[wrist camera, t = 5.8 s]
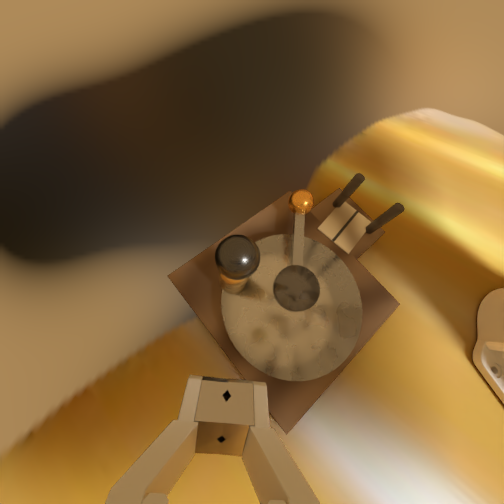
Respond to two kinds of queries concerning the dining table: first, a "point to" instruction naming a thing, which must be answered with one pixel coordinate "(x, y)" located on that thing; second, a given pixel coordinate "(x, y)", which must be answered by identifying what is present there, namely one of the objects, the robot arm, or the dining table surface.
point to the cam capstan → (288, 300)
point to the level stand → (330, 235)
